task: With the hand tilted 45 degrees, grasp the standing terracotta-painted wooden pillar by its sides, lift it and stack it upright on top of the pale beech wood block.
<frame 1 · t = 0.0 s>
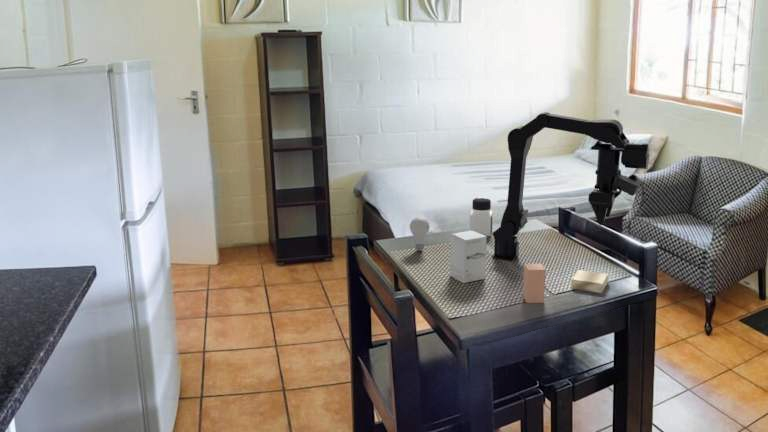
hand: (604, 220, 199), 15 cm above the table, tool pointing down, fingers open, 9 cm apart
lightbulb: (419, 251, 222), on the table
supplement box: (467, 278, 198), on the table
medicine bottle: (480, 233, 239), on the table
beech block: (589, 287, 191), on the table
terracotta pillar: (533, 299, 182), on the table
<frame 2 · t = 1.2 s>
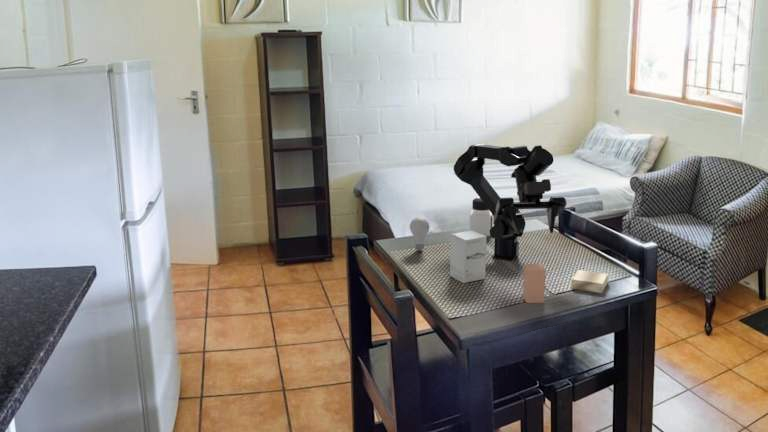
hand: (535, 232, 193), 13 cm above the table, tool tilted 45°, fingers open, 9 cm apart
nothing on the table moved.
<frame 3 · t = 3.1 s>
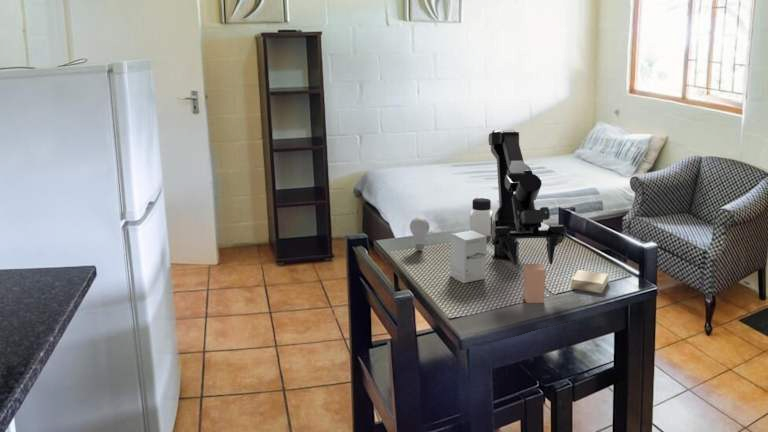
hand: (533, 264, 181), 9 cm above the table, tool tilted 45°, fingers open, 9 cm apart
nothing on the table moved.
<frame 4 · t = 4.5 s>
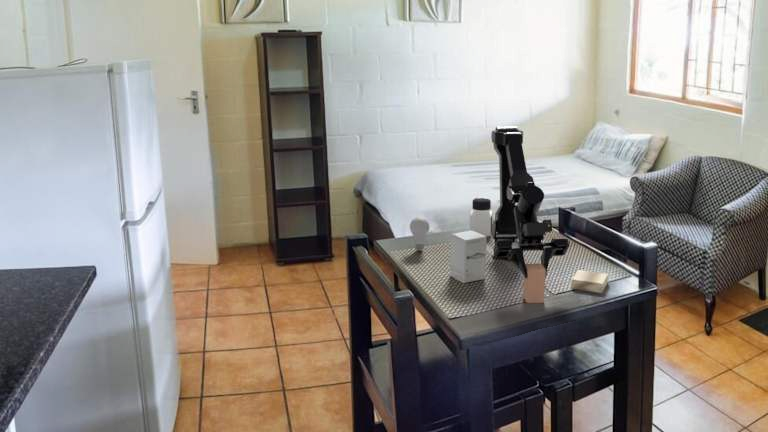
hand: (535, 277, 179), 7 cm above the table, tool tilted 45°, fingers closed on terracotta pillar, 4 cm apart
terracotta pillar: (533, 299, 182), on the table, touching gripper
everything else where it was.
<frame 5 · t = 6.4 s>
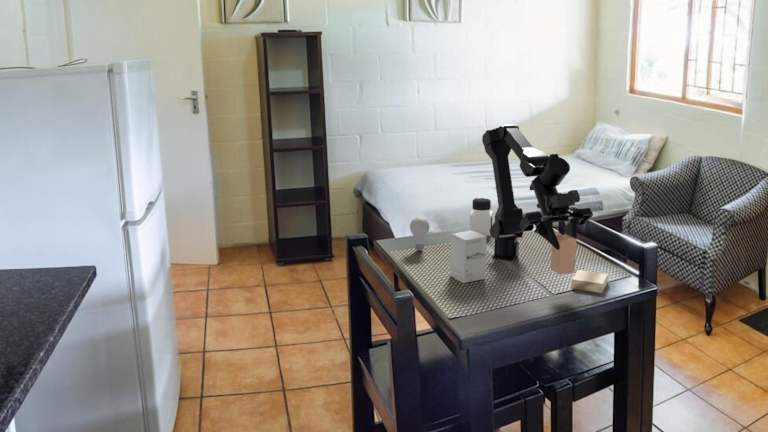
hand: (566, 248, 180), 13 cm above the table, tool tilted 45°, fingers closed on terracotta pillar, 4 cm apart
terracotta pillar: (562, 270, 183), point 7 cm above the table, touching gripper
everything else where it was.
when the fingers open (10 cm above the table, at t = 8.3 s): terracotta pillar drops 1 cm, point 3 cm above the table.
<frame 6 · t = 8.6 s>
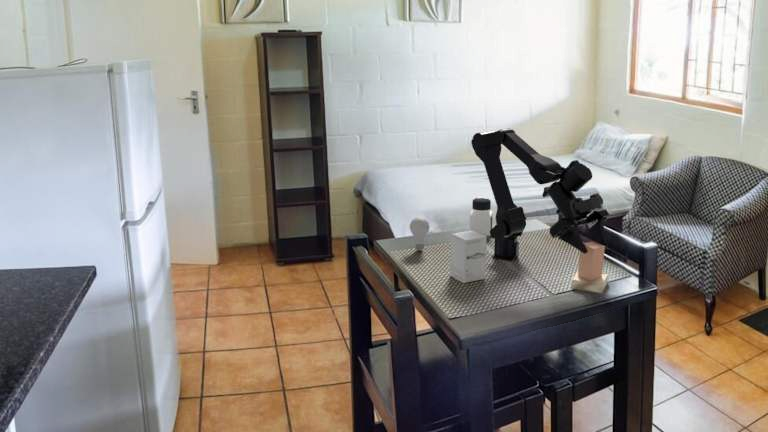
hand: (596, 249, 187), 11 cm above the table, tool tilted 45°, fingers open, 8 cm apart
terracotta pillar: (589, 276, 190), point 3 cm above the table
everything else where it was.
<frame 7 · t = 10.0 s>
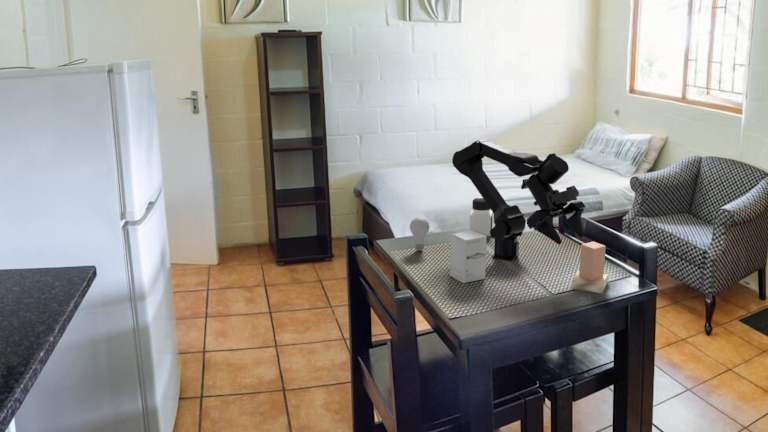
hand: (571, 240, 193), 11 cm above the table, tool tilted 45°, fingers open, 9 cm apart
nothing on the table moved.
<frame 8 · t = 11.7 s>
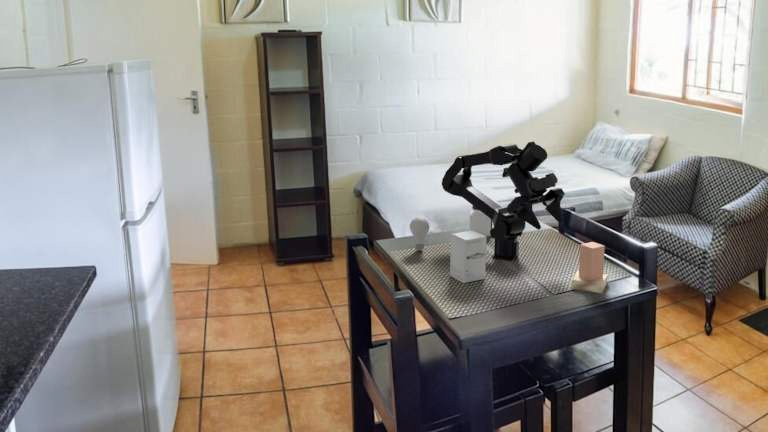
hand: (551, 225, 198), 14 cm above the table, tool tilted 45°, fingers open, 9 cm apart
beech block: (589, 287, 191), on the table, touching terracotta pillar
terracotta pillar: (590, 277, 190), point 3 cm above the table, touching beech block
everything else where it was.
at the end: terracotta pillar inside the target area on the beech block (0.2 cm from its centre), point 3.1 cm above the beech block's base; terracotta pillar tilted 2°; the gripper is holding nothing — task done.
